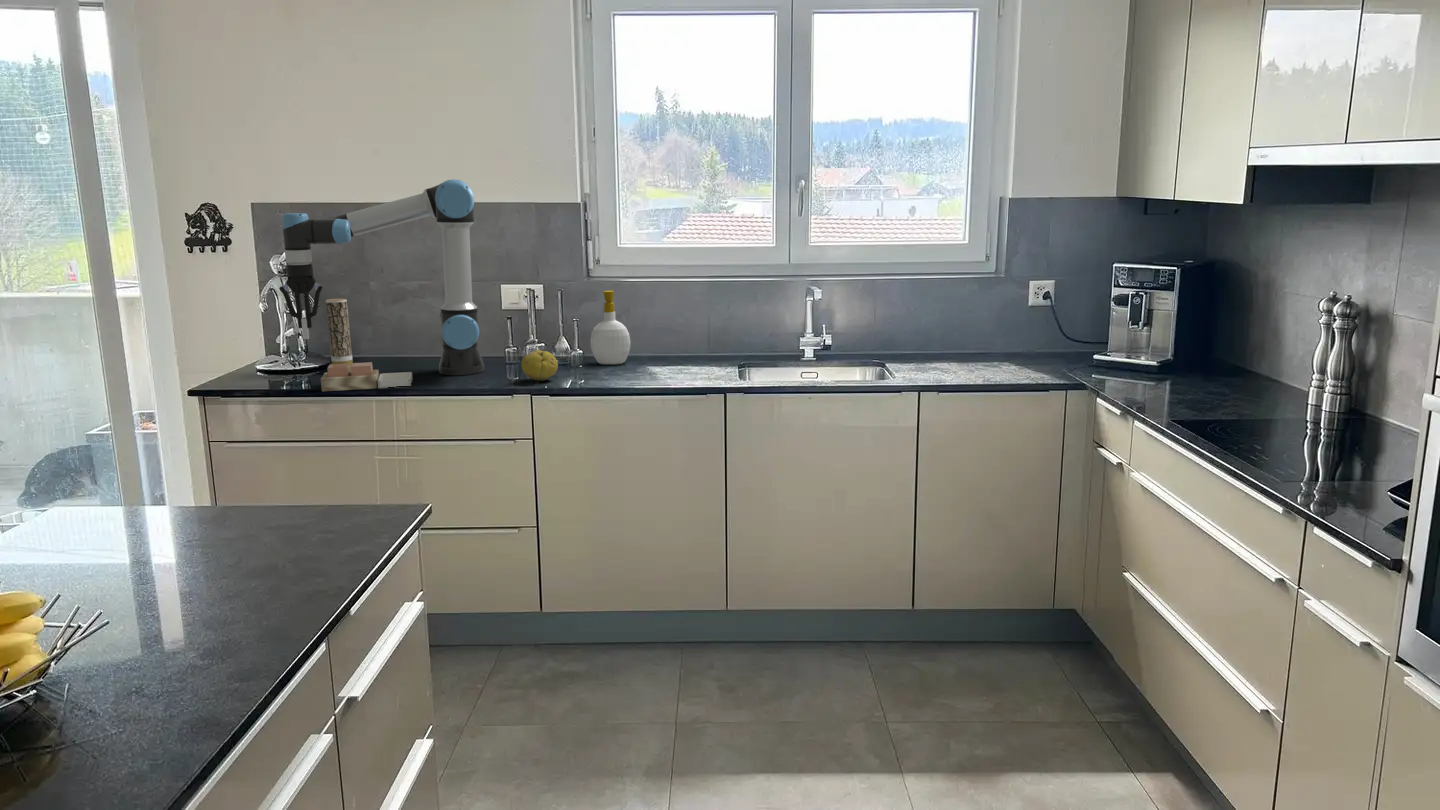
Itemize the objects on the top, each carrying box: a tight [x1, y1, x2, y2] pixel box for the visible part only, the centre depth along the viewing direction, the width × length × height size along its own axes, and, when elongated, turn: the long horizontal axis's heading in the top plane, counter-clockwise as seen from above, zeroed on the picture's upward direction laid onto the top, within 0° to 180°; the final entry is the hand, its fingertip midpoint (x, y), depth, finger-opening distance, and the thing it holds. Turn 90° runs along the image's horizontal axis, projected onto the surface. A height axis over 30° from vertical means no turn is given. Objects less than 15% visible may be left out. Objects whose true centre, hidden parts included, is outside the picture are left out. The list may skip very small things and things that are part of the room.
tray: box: [377, 371, 413, 389], centre depth 327 cm, size 10×12×2 cm
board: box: [320, 369, 380, 392], centre depth 324 cm, size 16×11×4 cm, turn 104°
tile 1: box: [327, 363, 350, 377], centre depth 322 cm, size 6×6×3 cm
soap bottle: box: [589, 290, 631, 366], centre depth 356 cm, size 14×9×26 cm, turn 88°
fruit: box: [520, 349, 559, 382], centre depth 329 cm, size 11×12×10 cm
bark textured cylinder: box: [325, 298, 354, 371], centre depth 346 cm, size 7×7×25 cm
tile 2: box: [351, 361, 374, 376], centre depth 324 cm, size 6×6×3 cm
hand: (306, 338), depth 318 cm, fingers closed
